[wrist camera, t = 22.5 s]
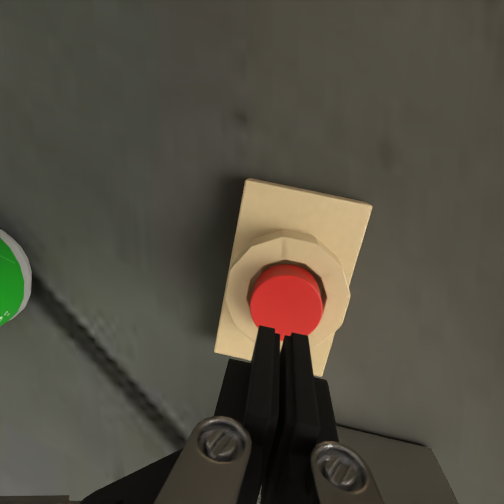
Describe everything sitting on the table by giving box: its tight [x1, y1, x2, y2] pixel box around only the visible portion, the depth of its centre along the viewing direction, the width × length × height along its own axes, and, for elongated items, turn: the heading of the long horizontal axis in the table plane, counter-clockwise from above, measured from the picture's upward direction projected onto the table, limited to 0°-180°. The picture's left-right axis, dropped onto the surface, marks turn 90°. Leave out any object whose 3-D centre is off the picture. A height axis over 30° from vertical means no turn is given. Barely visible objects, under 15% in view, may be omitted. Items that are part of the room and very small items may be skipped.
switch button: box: [250, 264, 323, 341], centre depth 17 cm, size 4×4×2 cm
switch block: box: [214, 178, 372, 377], centre depth 19 cm, size 11×7×4 cm, turn 169°
